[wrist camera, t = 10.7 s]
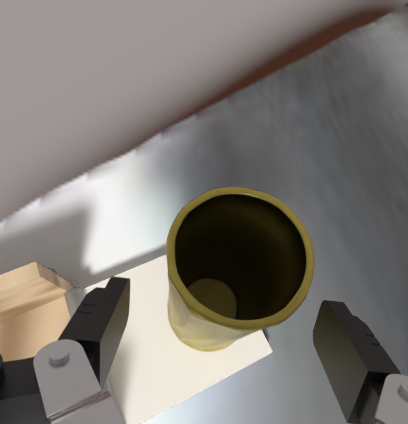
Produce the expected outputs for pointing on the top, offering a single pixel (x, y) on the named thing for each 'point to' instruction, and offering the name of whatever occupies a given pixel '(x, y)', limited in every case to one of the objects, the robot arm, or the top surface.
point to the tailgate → (162, 350)
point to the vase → (235, 266)
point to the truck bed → (31, 310)
